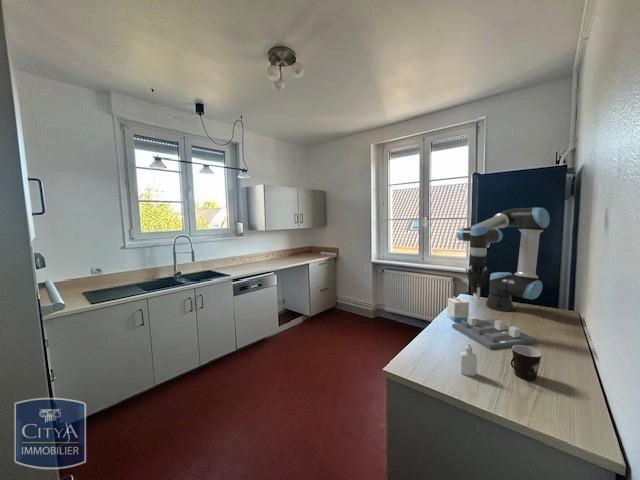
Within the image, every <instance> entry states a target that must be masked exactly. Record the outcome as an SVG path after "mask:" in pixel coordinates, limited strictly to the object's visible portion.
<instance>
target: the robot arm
mask: <svg viewBox="0 0 640 480" xmlns="http://www.w3.org/2000/svg"><path fill="white" fill-rule="evenodd" d="M549 225H550V214H549V212H548V210H547V209H545V207H518V208H517V207H515V208H510V209H507V210H504V211H501V212H499V213H496V214H495V215H493V216H492V217H490V218H488V219H486V220H484V221H482V222H479V223H476V224H474V225H471V226H469V227H459V228H458V229H457V231H456V238H457V239H458V240H459V241H463V242H470V244H469V263H470V264H469V267H468V268H465V272H466V274H467V280H468V285H469V286H470V287H472V293H473V299H474V300H476V301H480V299H481V293H482V288H483V287H484V286H485V285H486V281H487V276H488V273H489V271H490V267H487V266H486V263H487V255H488V254H487V253H488V251H487V249H488V244H491V243H492V244H494V243H495V244H496V243H499V242H500V241H502V239H503V236H504V234H503V232H502V231H501V230H500V229H504V228H510V227H511V228H513V227H514V228H518V231H519V232H520V244H519V251H518V252H519V253H518V261H517V262H518V263H517V270H516V272H515V273H514V274H513V273H512V272H507V271H505V272H504V271H503V272H501V271H500V272H498V271H497V272H492V273H490V277H489V294H488V297H487V300H486V301H485V306H486V308H489V309H492V310H494V311H495V310H496V311H498V312H499V311H500V312H513V311H514V310H515V305H514V303H513V300H512V296H515V297H520V298H523V299H528V300H535V299H537V298H538V297H539V296H540V295H541V294H542V291H543V282H542V281H541V280H539V276H538V275H537V274H536V272H537V262H538V256H539V255H538V254H539V244H540V236H541V235H540V234H541V233H543V232H544V229H545V228H548V226H549Z"/></svg>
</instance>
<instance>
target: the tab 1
mask: <svg viewBox="0 0 640 480" xmlns="http://www.w3.org/2000/svg"><path fill="white" fill-rule="evenodd" d="M477 321H478V318H477V317H475V316H473V315H469V317H468V320H467V323H469V325H471V326H476V325H477Z"/></svg>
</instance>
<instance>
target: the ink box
mask: <svg viewBox="0 0 640 480" xmlns="http://www.w3.org/2000/svg"><path fill="white" fill-rule="evenodd" d="M469 304H470V303H469V301H467V300H466V299H464V298H462V297H456V296H454V295H452V297H451V298H450V297H449V298H448V297H447V318H448V319H449V320H450V321H452V322H453V323H461V320H463V321H465V322H467V320H468V317H469V316H470V315H469V313H470V311H469V310H470V309H469V308H470V305H469Z"/></svg>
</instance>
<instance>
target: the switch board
mask: <svg viewBox="0 0 640 480" xmlns="http://www.w3.org/2000/svg"><path fill="white" fill-rule="evenodd" d="M495 321H496V319H483V320H477V325H476V326H471V325H469V323H467V322H465V321H463V320H461V322H456V323H452V324H451V325H452V326H451V328H452V329H454V330H455V331H458V332H459V333H461V334H462V335H464V336H466V337H468V338H469V339H471V340H472V341H474V342H476V343H478V344H480V345H481V346H483V347H484V348H486V349H488V350H494V349H495V350H496V349H499V348H509V347H512V346H514V345H523V346H524V345H528V344H535V343H536V341H537V338H535V337H533V336H531V335H528V334H526V333H524V332H522V331H520V337H516V338H514V337H512V336H510V335H509V327H510V326H508V325H507V324H505V330H500V331H499V330H497V329H495V328H494V327H495Z"/></svg>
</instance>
